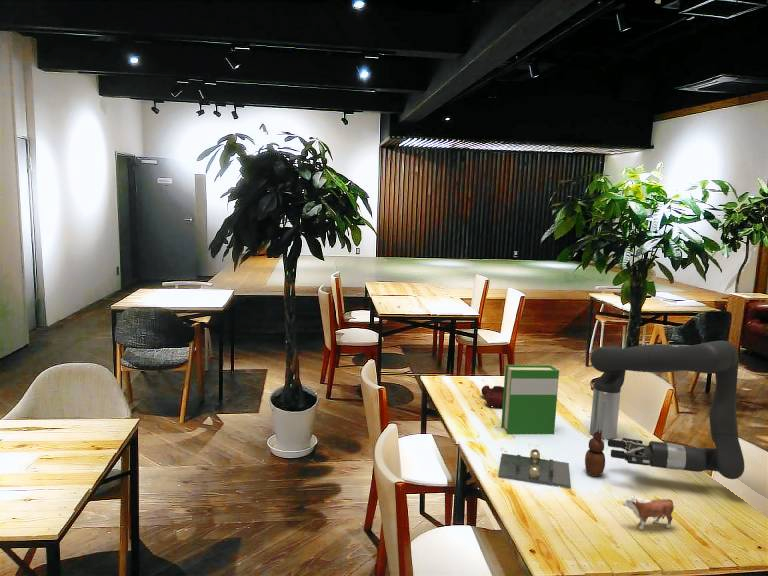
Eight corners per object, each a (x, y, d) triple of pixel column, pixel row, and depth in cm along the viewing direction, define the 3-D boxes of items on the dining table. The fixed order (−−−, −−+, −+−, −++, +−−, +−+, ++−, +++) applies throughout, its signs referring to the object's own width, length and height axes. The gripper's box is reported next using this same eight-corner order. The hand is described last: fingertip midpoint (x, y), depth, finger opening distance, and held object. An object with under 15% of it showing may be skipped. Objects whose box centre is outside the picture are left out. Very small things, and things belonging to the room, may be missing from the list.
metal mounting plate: (501, 456, 190) (502, 444, 189) (568, 465, 184) (569, 454, 184) (498, 477, 174) (499, 464, 174) (570, 488, 169) (571, 475, 168)
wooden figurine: (605, 479, 176) (609, 432, 174) (585, 477, 177) (589, 430, 175) (601, 470, 182) (606, 424, 180) (582, 467, 183) (586, 422, 181)
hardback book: (507, 434, 209) (512, 370, 206) (501, 426, 216) (505, 364, 213) (554, 434, 211) (559, 370, 208) (546, 426, 218) (551, 365, 215)
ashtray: (526, 411, 235) (527, 399, 235) (486, 409, 236) (487, 397, 235) (516, 397, 253) (517, 386, 253) (479, 395, 253) (480, 384, 253)
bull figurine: (618, 521, 151) (621, 492, 150) (667, 521, 152) (670, 492, 151) (627, 531, 147) (630, 500, 146) (676, 530, 148) (680, 500, 147)
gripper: (663, 435, 179) (607, 428, 184) (673, 453, 166) (613, 445, 170) (660, 457, 180) (605, 450, 185) (670, 477, 167) (610, 469, 171)
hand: (609, 447), depth 177 cm, fingers open, 8 cm apart
